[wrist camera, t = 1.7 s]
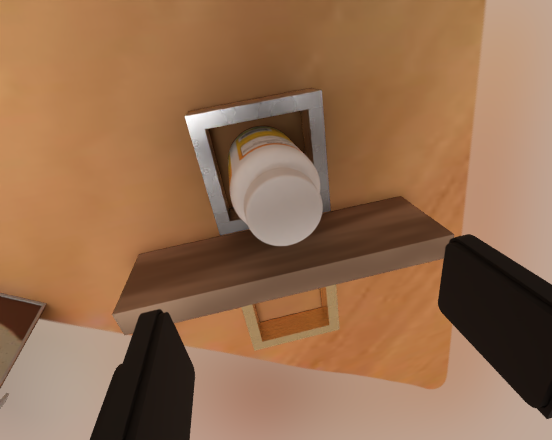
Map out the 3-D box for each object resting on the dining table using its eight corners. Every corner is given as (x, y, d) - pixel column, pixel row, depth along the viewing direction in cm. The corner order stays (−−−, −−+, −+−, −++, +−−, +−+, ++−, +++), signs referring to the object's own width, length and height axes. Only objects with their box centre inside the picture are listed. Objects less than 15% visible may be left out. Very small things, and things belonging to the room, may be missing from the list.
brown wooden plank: (138, 254, 25) (112, 314, 19) (400, 196, 27) (454, 234, 21) (147, 272, 26) (124, 335, 20) (399, 215, 28) (450, 256, 21)
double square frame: (188, 111, 20) (184, 116, 18) (311, 87, 21) (321, 90, 19) (252, 331, 31) (254, 350, 29) (331, 311, 32) (339, 329, 30)
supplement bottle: (272, 202, 25) (298, 271, 16) (215, 172, 23) (211, 233, 14) (307, 148, 23) (357, 194, 15) (249, 110, 21) (268, 138, 13)
